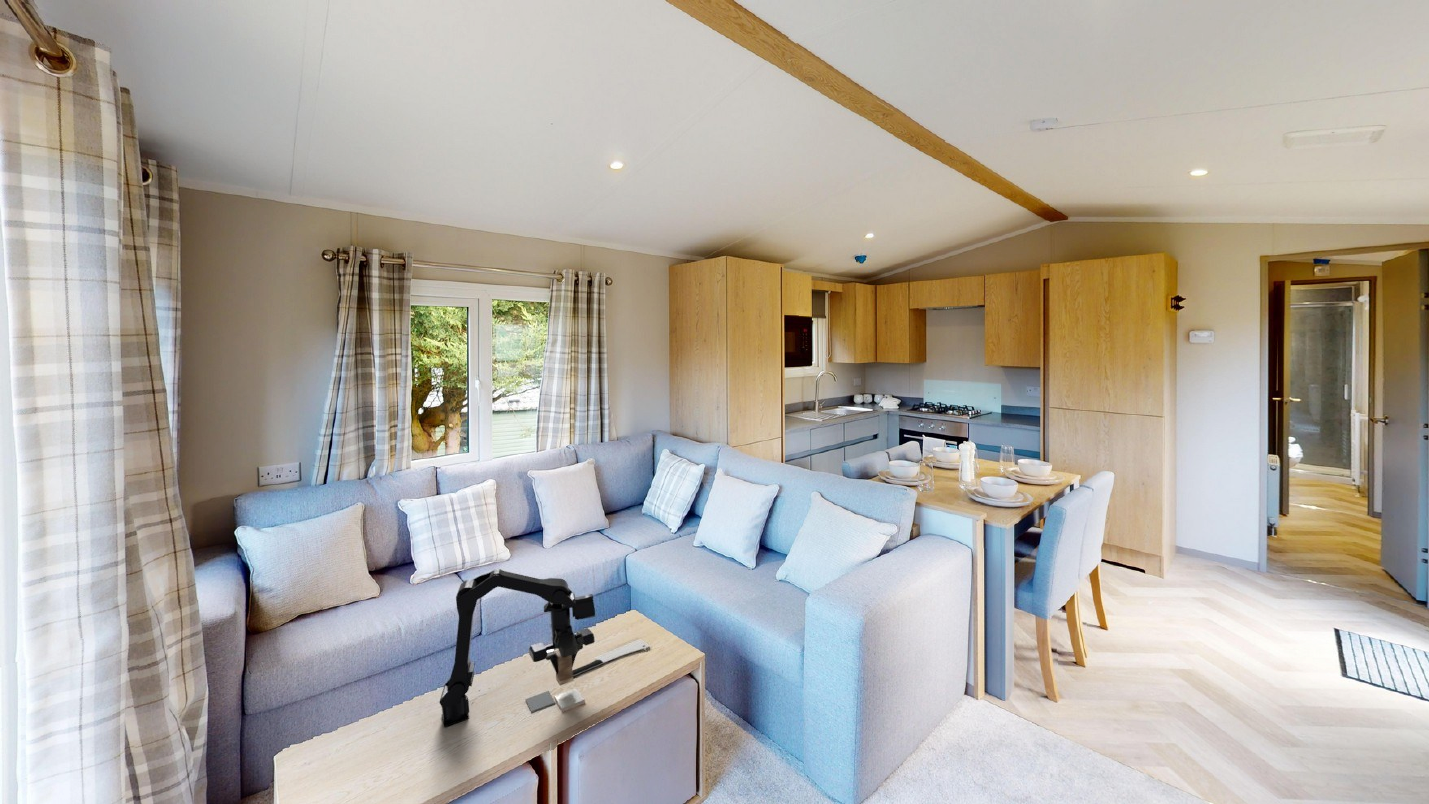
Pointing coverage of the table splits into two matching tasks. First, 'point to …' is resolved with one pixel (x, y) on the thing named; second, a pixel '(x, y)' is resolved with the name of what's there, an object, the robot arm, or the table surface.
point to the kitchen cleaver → (612, 655)
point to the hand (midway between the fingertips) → (564, 670)
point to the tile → (569, 699)
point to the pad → (540, 701)
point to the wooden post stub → (564, 669)
